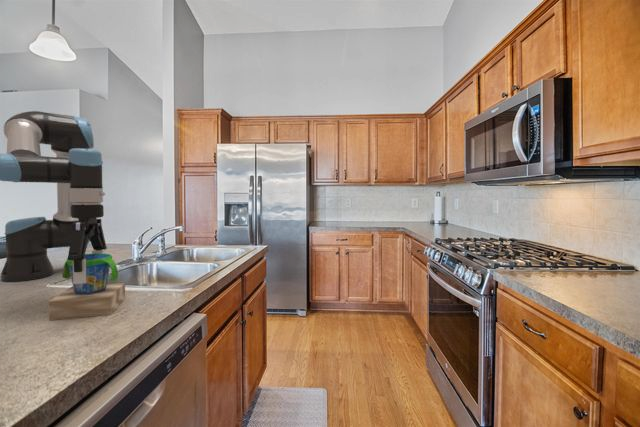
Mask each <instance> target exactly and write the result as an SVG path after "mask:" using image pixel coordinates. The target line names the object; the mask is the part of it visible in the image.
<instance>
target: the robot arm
mask: <svg viewBox="0 0 640 427" xmlns="http://www.w3.org/2000/svg"><path fill="white" fill-rule="evenodd" d="M3 125H4V126H3V133H4V135H5V138H6V139H7V142H6V153H0V181H1V182H11V183H45V184H46V183H51V184H56V187H57V188H56V191H57V192H56V194H57V199H56V200H57V212H56V213H54V214H53V215H52V219H47V218H46V217H45V216H35V217H34V216H33V217H26V218H19V219H14V220H10V221H7V223H6V224H5V226H4V227H5V229H4V235H5V252H6V253H5V254H6V255H5V256H6V260H5V262H4V265H3V268H2V269H1V273H0V281H1V282H9V283H10V282H13V283H14V282H23V281H24V282H25V281H32V280H37V279H43V278H47V277H50V276H53V275H54V271H55V270H54V266H53V264H52V262H51V261H50V259H49V256H48V249H49V250H50V249H59V248H69V249H68V256H67V258H68V260H72V261H73V284H83V283H87V281H86V259H84V256H85V254H86V253H87V248H88V244H89V243H90V245H91V247H92V248H93V250H91V254H100V253H101V254H104V251H105V250H107V248H108V247H107V244H106V239H105V236H104V235H105V234H104V230H103V225H102V218H103V217H104V214H105V213H104V205H103V204H102V203H103V202H104V197H103V196H105V195H106V193H105V192H103V191H104V190H103V164H104V162H103V158H102V153H101V151H99V150H96V149H94V147H95V146H94V144H95V142H94V134H93V130H92V127H91V123H90V121H89V120H88V119H87V118H84V117H80V116H76V115H69V114H68V115H67V114H59V113H53V112H45V111H44V112H43V111H39V110H37V111H35V110H31V111H26V112H21V113H16V114H14V115H12V116H11V117H10V118H8V119H7V120H6V121H5V122H4V124H3ZM41 145H48V146H49V145H50V150H51V151H52V152H54V153H55V156H43V155H42V154H41ZM73 284H72V285H73Z"/></svg>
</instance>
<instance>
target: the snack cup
mask: <svg viewBox="0 0 640 427" xmlns="http://www.w3.org/2000/svg"><path fill="white" fill-rule="evenodd" d="M84 259H86V281H87V283H83V284H73V261H72V260H68V257H67V258H66V260H65V262H64V264H63V269H62V278H63V279H67V280H68V279H70V278H71V283H72V286H73V287H74V291H75V293H79V294H84V293H86V294H90V293H96V292H100V291H103V290H104V289H105V288H106V286H107V284H108V280H109V274H110V273H109V272H110V270H111V275H110V282H114V281H116V280H117V279H118V277H119V273H118V272H119V271H118V267H117V264H116V263H115V260H114V259H113V255H112V254H110V253H103V254H101V253H100V254H92V253H87V254H86V253H85V256H84Z"/></svg>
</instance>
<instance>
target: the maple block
mask: <svg viewBox="0 0 640 427" xmlns="http://www.w3.org/2000/svg"><path fill="white" fill-rule="evenodd" d="M125 299H126V283H125V282H118V283H117V282H116V283H107V286H106V288H105V289H104V290H103V291H100V292H96V293H90V294H86V293H84V294H79V293H75V291H74V287H73V285H72V286H71V287H69V288H68V289H65V291H63V292H61V293H60V294H59V295H56V296H55V297H53V298H52V299H50V300H49V301H48V318H49V321H57V320H67V319H78V318H85V317H98V316H108V315H112V314H113V313H114V312H115V310H116V309H117V308H118V307H119V306H120V305H121V303H123V301H125Z"/></svg>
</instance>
